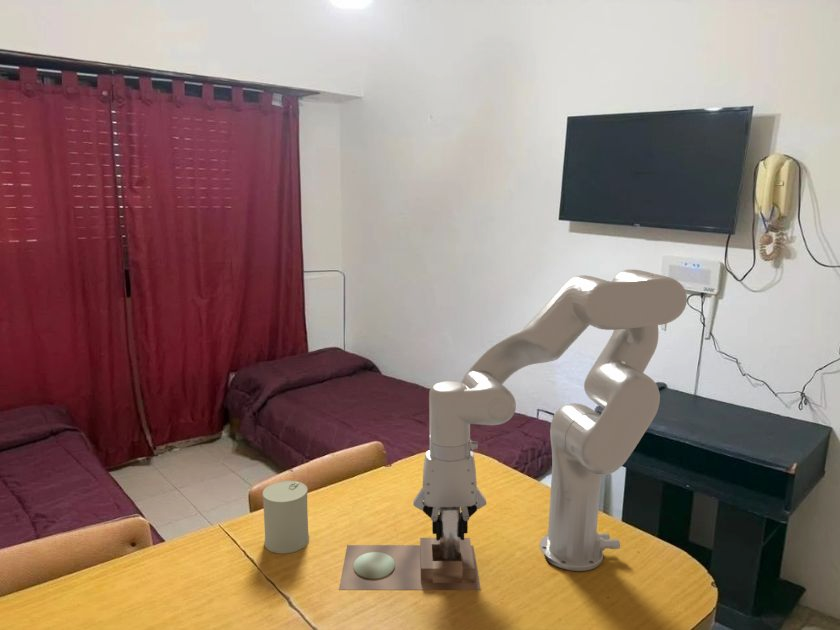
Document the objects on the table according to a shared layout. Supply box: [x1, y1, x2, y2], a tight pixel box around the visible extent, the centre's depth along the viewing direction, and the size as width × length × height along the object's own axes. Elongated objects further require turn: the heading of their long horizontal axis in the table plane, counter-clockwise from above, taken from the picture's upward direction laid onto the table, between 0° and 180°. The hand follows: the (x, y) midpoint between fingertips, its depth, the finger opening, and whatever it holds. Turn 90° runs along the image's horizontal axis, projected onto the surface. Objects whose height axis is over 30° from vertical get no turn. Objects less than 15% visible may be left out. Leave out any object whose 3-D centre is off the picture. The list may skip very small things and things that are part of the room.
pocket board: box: [338, 537, 481, 591], centre depth 116 cm, size 26×14×4 cm, turn 91°
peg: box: [439, 507, 461, 559], centre depth 115 cm, size 4×4×10 cm
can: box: [261, 480, 310, 555], centre depth 125 cm, size 9×9×12 cm
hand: (449, 535), depth 115 cm, fingers closed on peg, 4 cm apart
